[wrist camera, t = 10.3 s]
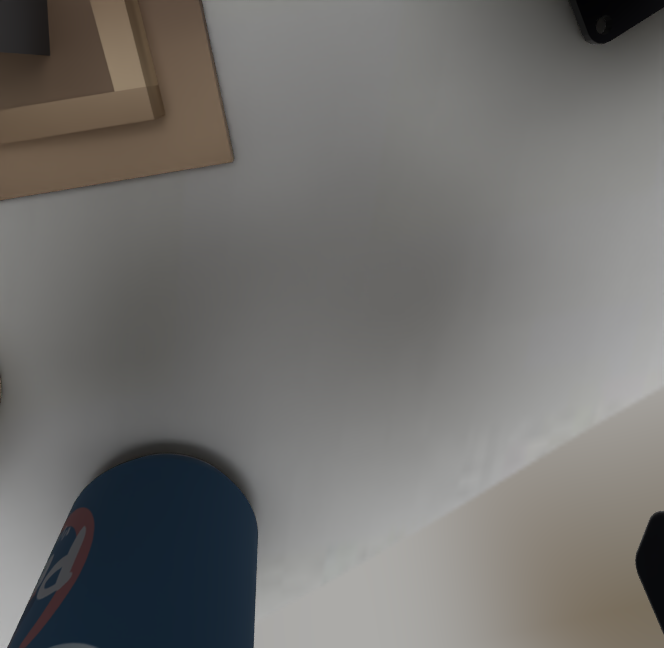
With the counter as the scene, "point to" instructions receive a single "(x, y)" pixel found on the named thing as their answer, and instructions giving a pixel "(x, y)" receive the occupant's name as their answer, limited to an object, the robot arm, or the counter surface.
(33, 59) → the square recessed board
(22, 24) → the grey square peg
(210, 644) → the soda can
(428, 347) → the counter surface
